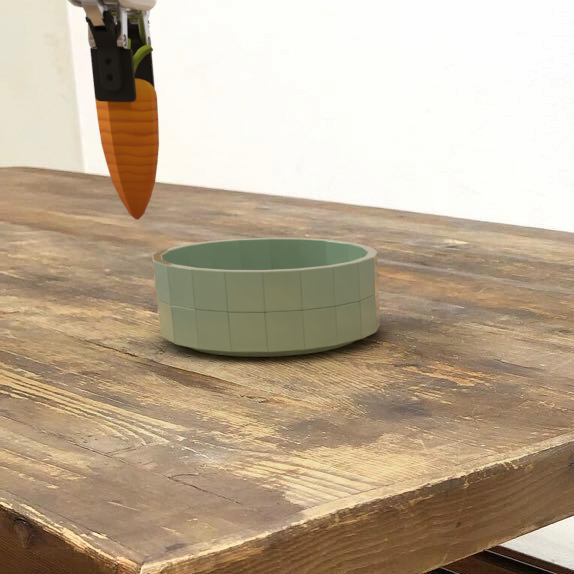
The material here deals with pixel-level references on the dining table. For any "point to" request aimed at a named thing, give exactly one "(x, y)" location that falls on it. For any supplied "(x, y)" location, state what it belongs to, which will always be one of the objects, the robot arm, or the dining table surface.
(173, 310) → the bowl
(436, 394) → the dining table surface
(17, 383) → the dining table surface
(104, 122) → the carrot
